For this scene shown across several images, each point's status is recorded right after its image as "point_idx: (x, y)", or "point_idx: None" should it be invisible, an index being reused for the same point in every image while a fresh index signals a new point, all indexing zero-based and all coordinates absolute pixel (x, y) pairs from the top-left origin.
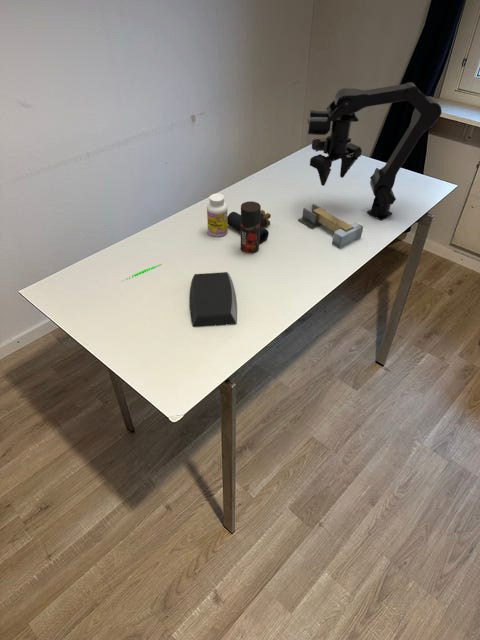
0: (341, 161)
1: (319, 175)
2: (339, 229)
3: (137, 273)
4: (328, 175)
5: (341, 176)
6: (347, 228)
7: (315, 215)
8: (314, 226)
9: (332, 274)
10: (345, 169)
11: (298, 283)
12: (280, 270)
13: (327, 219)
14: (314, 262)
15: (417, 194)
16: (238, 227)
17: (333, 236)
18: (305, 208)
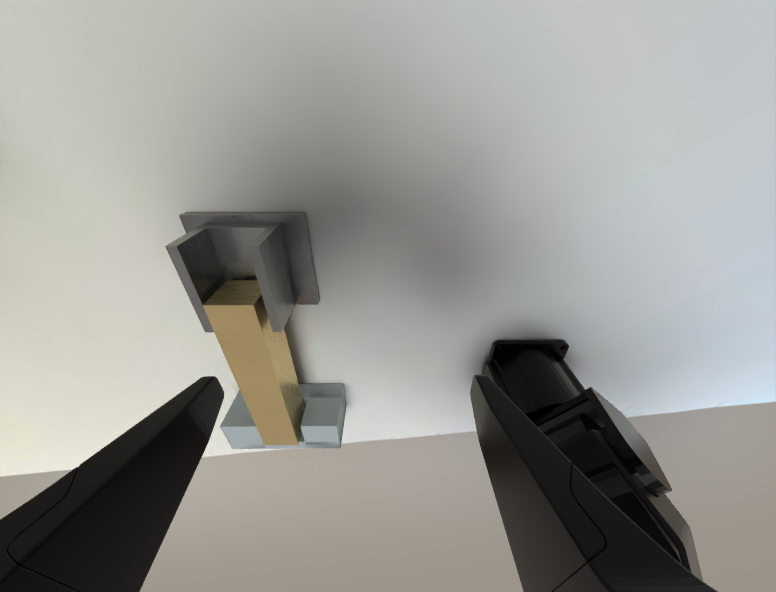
0: (587, 560)
1: (70, 480)
2: (248, 427)
3: None
4: (143, 572)
5: (474, 392)
6: (273, 442)
7: (204, 329)
8: None
9: None
10: (504, 500)
11: (66, 431)
12: (17, 385)
13: (237, 380)
14: (144, 406)
15: (760, 361)
16: None
17: (229, 411)
18: (178, 254)
